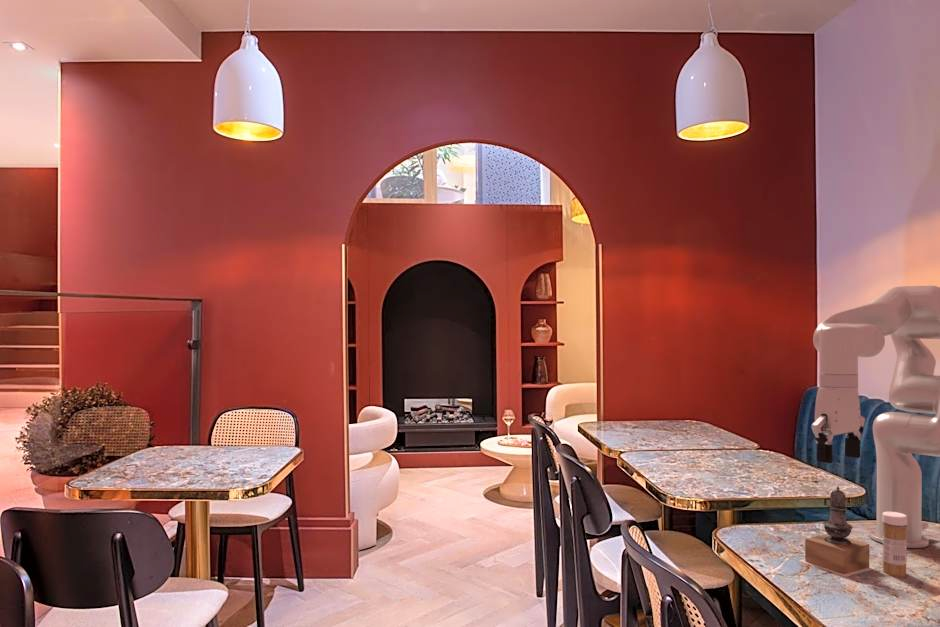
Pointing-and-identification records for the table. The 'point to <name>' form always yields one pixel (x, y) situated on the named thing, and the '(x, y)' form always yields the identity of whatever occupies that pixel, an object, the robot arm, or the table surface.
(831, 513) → the dark grey chess piece
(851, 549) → the walnut block
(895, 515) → the sprinkles bottle
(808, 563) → the grey flat slab
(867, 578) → the table surface
